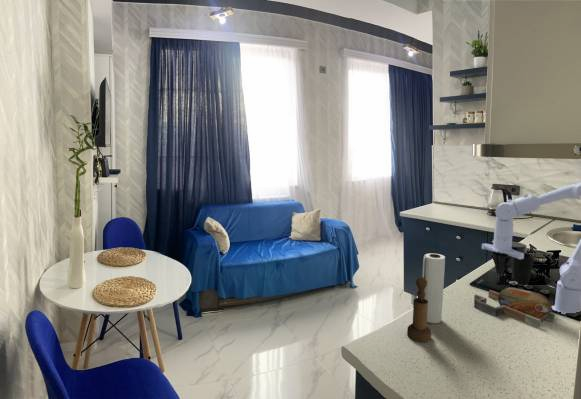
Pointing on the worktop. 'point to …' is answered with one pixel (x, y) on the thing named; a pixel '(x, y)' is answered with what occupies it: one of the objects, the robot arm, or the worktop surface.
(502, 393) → the worktop surface
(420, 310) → the mortar and pestle
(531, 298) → the tin
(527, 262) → the cup
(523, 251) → the supplement container
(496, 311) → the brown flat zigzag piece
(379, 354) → the worktop surface
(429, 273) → the paper towel roll
